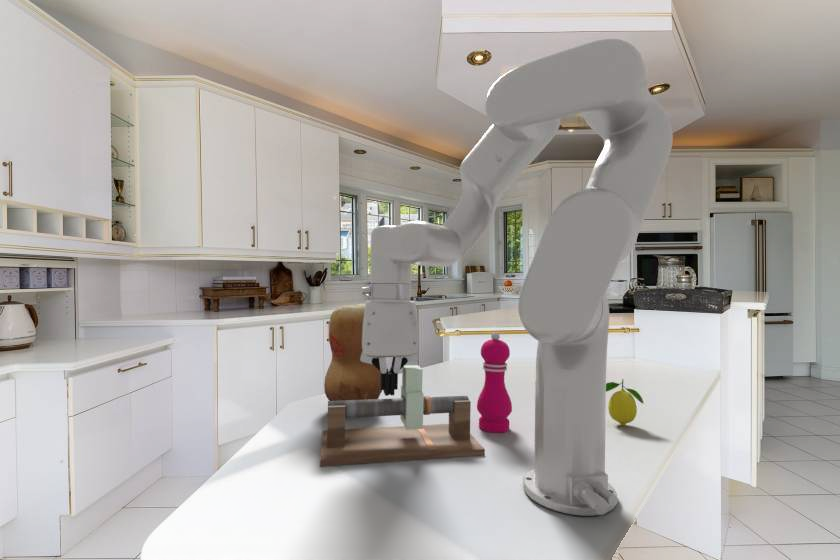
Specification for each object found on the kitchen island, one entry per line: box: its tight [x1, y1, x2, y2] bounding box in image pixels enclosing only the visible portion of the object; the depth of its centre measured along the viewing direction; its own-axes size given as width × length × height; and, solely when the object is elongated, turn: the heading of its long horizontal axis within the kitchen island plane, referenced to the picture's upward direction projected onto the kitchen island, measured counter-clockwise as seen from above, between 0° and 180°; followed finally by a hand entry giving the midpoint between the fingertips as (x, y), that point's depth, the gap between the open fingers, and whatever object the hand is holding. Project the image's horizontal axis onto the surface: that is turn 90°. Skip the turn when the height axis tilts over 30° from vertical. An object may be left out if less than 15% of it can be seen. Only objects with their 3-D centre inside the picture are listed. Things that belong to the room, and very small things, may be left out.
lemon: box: [606, 378, 644, 426], centre depth 90 cm, size 7×6×10 cm
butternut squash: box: [323, 303, 383, 401], centre depth 97 cm, size 14×13×25 cm
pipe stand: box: [319, 395, 486, 467], centre depth 77 cm, size 14×28×9 cm, turn 102°
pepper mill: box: [476, 331, 513, 434], centre depth 87 cm, size 7×7×20 cm
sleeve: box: [400, 364, 425, 430], centre depth 78 cm, size 6×3×10 cm, turn 12°
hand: (388, 393), depth 77 cm, fingers closed
